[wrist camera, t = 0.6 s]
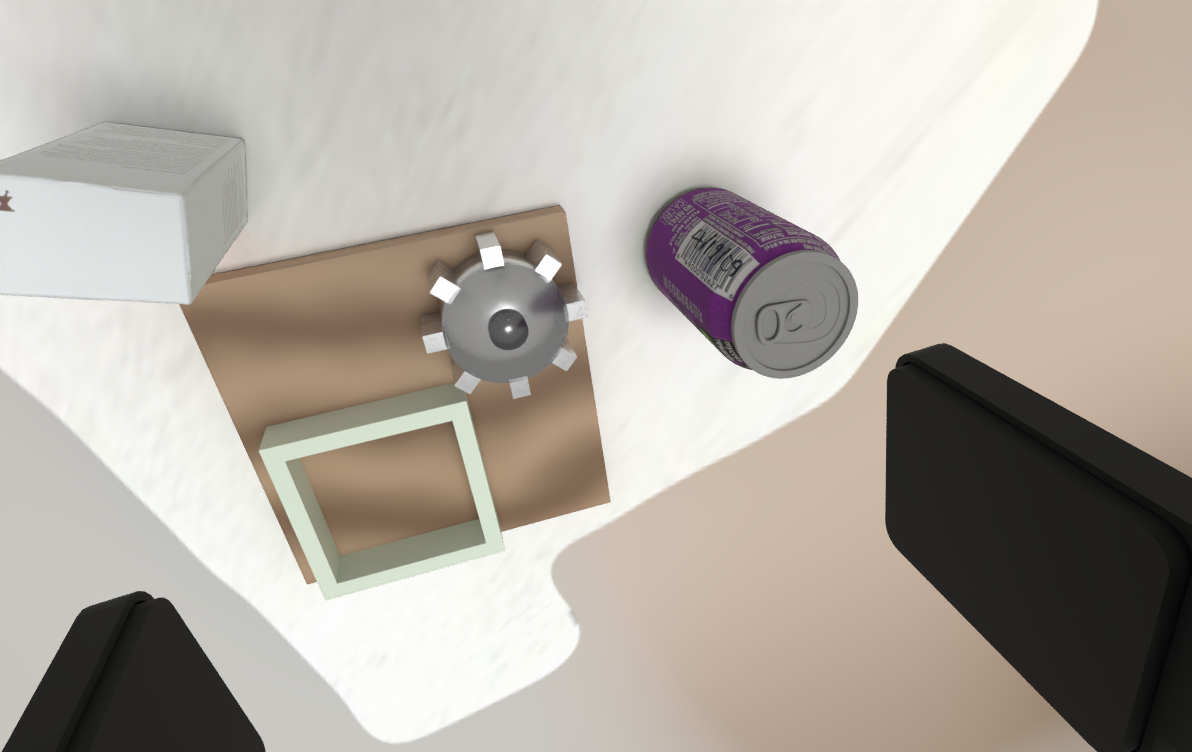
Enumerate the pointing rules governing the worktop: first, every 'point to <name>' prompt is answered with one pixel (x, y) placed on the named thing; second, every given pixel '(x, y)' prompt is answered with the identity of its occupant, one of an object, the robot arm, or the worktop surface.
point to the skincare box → (120, 214)
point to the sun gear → (502, 315)
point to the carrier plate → (397, 387)
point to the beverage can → (752, 282)
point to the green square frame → (364, 425)
